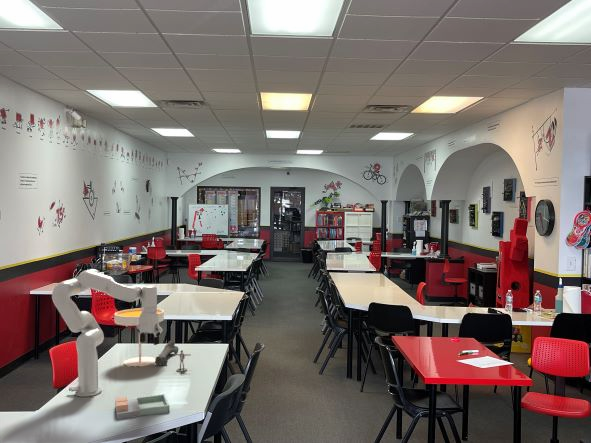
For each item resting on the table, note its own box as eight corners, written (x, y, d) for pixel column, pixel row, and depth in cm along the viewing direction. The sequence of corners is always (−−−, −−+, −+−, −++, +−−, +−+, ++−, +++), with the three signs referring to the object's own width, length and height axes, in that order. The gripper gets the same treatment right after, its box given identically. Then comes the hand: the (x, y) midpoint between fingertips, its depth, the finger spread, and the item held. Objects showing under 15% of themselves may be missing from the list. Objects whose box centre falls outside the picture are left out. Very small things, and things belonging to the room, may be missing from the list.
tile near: (116, 411, 242) (116, 405, 242) (116, 407, 246) (116, 402, 246) (128, 409, 243) (128, 404, 243) (127, 406, 248) (127, 400, 248)
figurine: (192, 369, 315) (192, 349, 315) (188, 372, 309) (188, 352, 309) (174, 368, 317) (174, 348, 317) (170, 372, 311) (170, 351, 310)
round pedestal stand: (173, 361, 332) (173, 311, 332) (129, 372, 312) (128, 318, 311) (149, 353, 353) (149, 306, 353) (106, 362, 333) (106, 312, 332)
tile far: (116, 407, 247) (116, 401, 247) (115, 403, 252) (115, 398, 252) (127, 405, 249) (127, 400, 249) (126, 402, 254) (126, 396, 254)
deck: (117, 419, 239) (117, 413, 239) (115, 406, 255) (115, 401, 255) (140, 416, 242) (140, 410, 242) (137, 403, 258) (137, 398, 258)
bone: (164, 353, 355) (164, 339, 355) (179, 353, 355) (179, 339, 355) (151, 367, 322) (151, 352, 322) (167, 367, 322) (167, 352, 322)
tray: (140, 416, 242) (140, 409, 242) (137, 403, 258) (137, 397, 258) (169, 411, 247) (169, 405, 247) (164, 400, 263) (164, 394, 263)
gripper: (131, 309, 274) (131, 342, 275) (156, 312, 266) (156, 346, 266) (142, 307, 281) (142, 339, 281) (167, 310, 272) (167, 343, 273)
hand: (149, 343), depth 274 cm, fingers open, 9 cm apart
